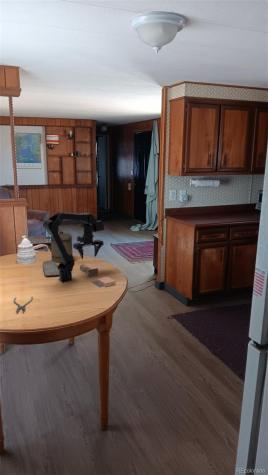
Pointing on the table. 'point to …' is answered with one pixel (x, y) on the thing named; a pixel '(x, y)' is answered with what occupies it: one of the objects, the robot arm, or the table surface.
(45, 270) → the stone slab
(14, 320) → the table surface
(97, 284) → the charcoal mat
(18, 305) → the pliers
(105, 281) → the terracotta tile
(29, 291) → the table surface
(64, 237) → the wooden container
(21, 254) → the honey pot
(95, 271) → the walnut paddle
